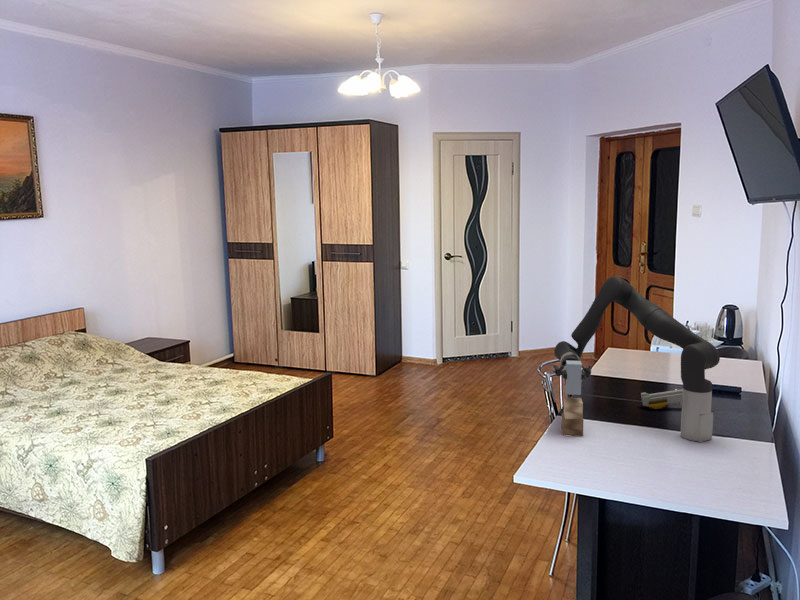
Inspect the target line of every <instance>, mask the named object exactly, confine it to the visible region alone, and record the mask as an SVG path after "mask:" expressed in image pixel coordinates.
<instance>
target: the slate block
mask: <svg viewBox="0 0 800 600" xmlns="http://www.w3.org/2000/svg"><path fill="white" fill-rule="evenodd" d="M582 366H583V363H582V361H581V360H580V361H568V360H566V372H567V379H565V390H564V391H565V394H566V395H573V396H577V395H578V396H581V395H582V380H581V374H582Z"/></svg>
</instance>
